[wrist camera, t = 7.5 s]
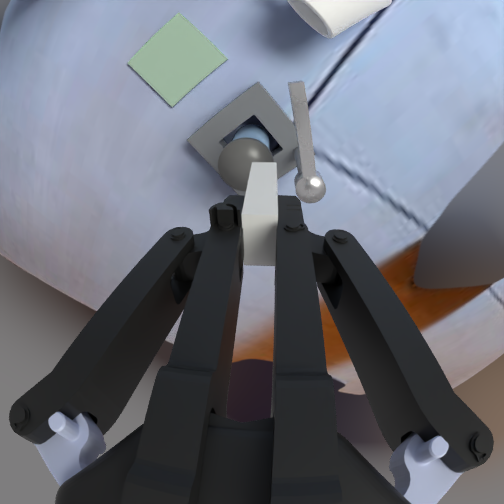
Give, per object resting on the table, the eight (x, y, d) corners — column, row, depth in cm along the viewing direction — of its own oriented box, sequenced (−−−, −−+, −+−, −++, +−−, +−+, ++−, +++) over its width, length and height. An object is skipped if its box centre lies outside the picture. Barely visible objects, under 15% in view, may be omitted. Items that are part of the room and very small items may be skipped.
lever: (323, 192, 27) (326, 201, 25) (296, 195, 27) (297, 204, 26) (310, 80, 20) (313, 81, 19) (278, 83, 21) (279, 84, 19)
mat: (128, 62, 28) (127, 63, 28) (179, 13, 24) (178, 12, 24) (173, 106, 33) (172, 107, 33) (227, 59, 29) (227, 59, 28)
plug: (222, 137, 36) (206, 162, 28) (255, 112, 33) (249, 128, 25) (248, 167, 38) (242, 200, 30) (281, 144, 36) (285, 171, 28)
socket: (191, 135, 36) (162, 165, 26) (258, 81, 31) (253, 87, 21) (246, 194, 41) (237, 241, 32) (312, 149, 36) (328, 183, 27)
